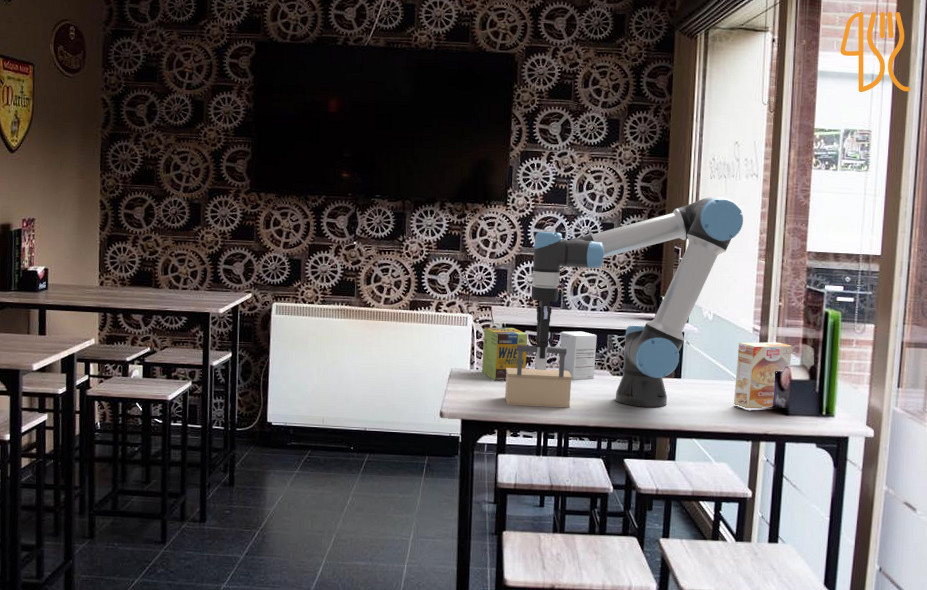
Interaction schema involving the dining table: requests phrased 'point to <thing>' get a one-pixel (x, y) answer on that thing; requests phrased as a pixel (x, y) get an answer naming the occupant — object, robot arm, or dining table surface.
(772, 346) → the coffeecake box
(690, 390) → the dining table surface
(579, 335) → the supplement box
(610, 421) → the dining table surface
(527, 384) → the carton
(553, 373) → the flap
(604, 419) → the dining table surface
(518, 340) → the protein box
